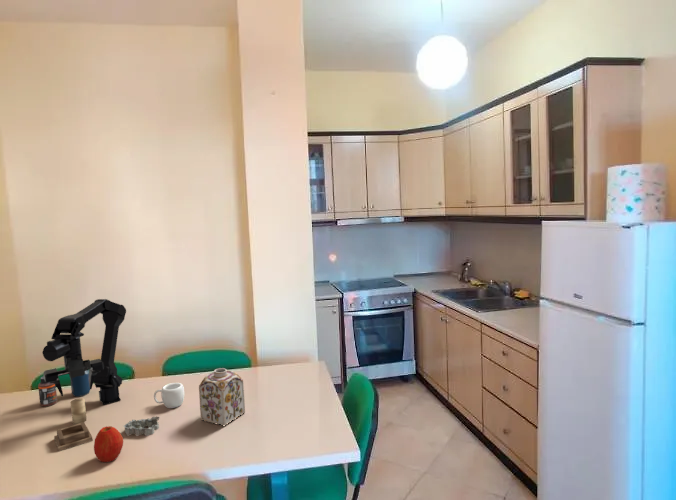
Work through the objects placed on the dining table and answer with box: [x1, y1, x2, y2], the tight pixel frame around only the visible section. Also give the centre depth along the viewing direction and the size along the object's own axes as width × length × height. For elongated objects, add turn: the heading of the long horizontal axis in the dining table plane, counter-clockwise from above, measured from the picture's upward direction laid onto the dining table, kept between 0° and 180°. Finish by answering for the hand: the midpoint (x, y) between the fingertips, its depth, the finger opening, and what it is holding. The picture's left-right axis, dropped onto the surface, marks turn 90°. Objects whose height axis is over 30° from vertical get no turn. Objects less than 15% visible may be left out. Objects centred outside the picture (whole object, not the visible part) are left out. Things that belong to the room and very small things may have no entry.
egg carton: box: [123, 415, 160, 437], centre depth 162 cm, size 11×8×4 cm
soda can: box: [69, 370, 91, 398], centre depth 195 cm, size 7×7×12 cm
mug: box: [153, 382, 185, 409], centre depth 182 cm, size 12×8×8 cm
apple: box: [93, 425, 124, 463], centre depth 145 cm, size 8×8×11 cm
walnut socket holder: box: [53, 422, 94, 452], centre depth 157 cm, size 10×10×3 cm
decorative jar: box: [198, 367, 246, 426], centre depth 170 cm, size 12×12×18 cm
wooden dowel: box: [70, 397, 87, 425], centre depth 171 cm, size 4×4×8 cm
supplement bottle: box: [37, 375, 58, 407], centre depth 187 cm, size 6×6×11 cm
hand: (76, 392), depth 170 cm, fingers open, 9 cm apart
